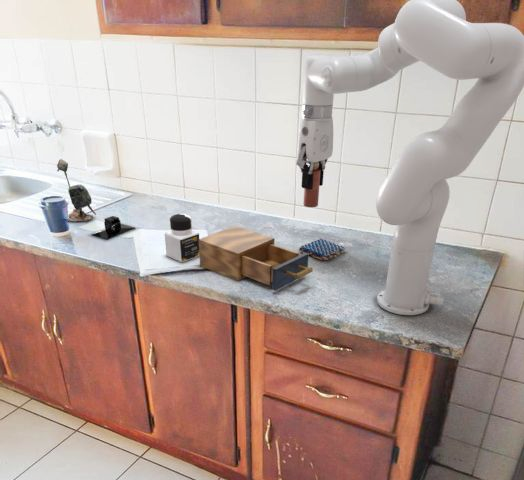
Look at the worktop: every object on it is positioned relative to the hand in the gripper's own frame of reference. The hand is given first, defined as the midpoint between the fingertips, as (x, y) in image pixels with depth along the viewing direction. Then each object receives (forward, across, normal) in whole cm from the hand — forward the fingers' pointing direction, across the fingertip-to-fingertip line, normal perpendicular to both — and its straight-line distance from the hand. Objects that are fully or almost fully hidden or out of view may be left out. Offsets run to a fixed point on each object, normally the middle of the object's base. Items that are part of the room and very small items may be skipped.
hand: (312, 185), depth 138 cm
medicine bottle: (+22, -21, +29) cm, 42 cm away
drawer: (+20, -16, -2) cm, 26 cm away
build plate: (+22, -22, +60) cm, 68 cm away
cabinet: (+21, -16, +13) cm, 30 cm away
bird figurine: (+22, -22, +78) cm, 84 cm away
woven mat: (+21, +8, 0) cm, 23 cm away
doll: (+5, 0, 0) cm, 5 cm away
